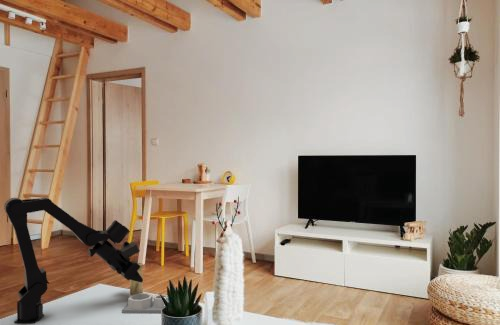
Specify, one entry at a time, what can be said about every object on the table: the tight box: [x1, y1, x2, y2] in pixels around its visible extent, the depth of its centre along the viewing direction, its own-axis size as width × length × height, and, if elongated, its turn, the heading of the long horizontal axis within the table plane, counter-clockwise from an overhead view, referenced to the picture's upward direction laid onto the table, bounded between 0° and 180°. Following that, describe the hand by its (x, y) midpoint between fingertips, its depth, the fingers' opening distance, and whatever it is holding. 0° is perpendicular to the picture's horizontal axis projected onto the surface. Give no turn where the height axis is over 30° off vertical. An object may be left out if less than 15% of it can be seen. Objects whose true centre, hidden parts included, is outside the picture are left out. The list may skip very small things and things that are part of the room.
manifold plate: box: [121, 292, 169, 314], centre depth 144 cm, size 16×9×4 cm, turn 89°
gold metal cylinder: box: [129, 262, 144, 297], centre depth 155 cm, size 5×5×12 cm
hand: (140, 279), depth 156 cm, fingers closed on gold metal cylinder, 4 cm apart
